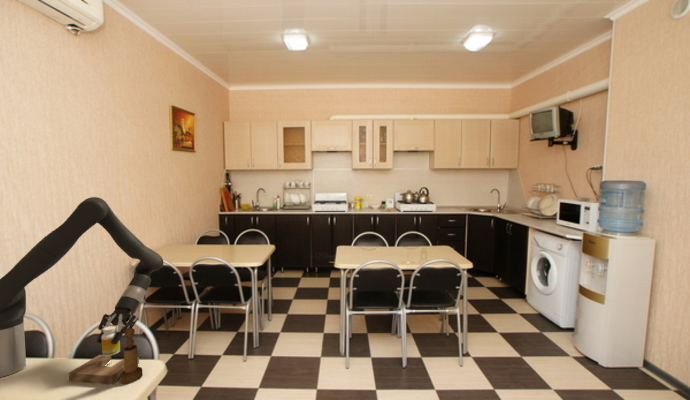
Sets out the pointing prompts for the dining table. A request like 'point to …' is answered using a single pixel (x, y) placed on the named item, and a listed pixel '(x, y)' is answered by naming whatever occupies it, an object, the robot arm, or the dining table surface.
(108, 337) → the supplement bottle
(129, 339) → the mortar and pestle
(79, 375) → the notched board
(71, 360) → the dining table surface
